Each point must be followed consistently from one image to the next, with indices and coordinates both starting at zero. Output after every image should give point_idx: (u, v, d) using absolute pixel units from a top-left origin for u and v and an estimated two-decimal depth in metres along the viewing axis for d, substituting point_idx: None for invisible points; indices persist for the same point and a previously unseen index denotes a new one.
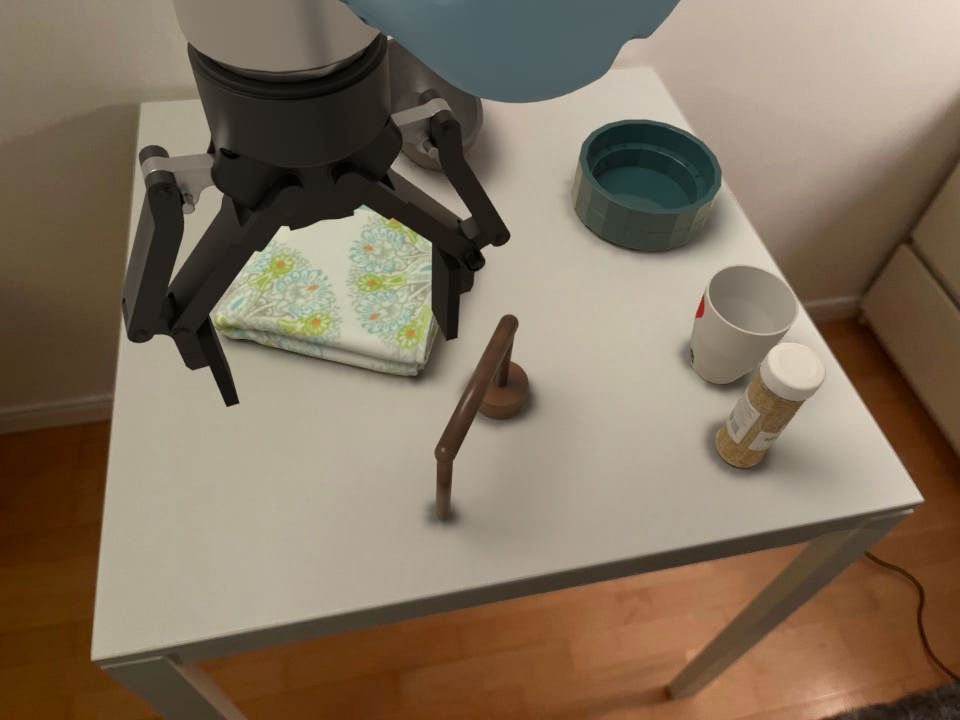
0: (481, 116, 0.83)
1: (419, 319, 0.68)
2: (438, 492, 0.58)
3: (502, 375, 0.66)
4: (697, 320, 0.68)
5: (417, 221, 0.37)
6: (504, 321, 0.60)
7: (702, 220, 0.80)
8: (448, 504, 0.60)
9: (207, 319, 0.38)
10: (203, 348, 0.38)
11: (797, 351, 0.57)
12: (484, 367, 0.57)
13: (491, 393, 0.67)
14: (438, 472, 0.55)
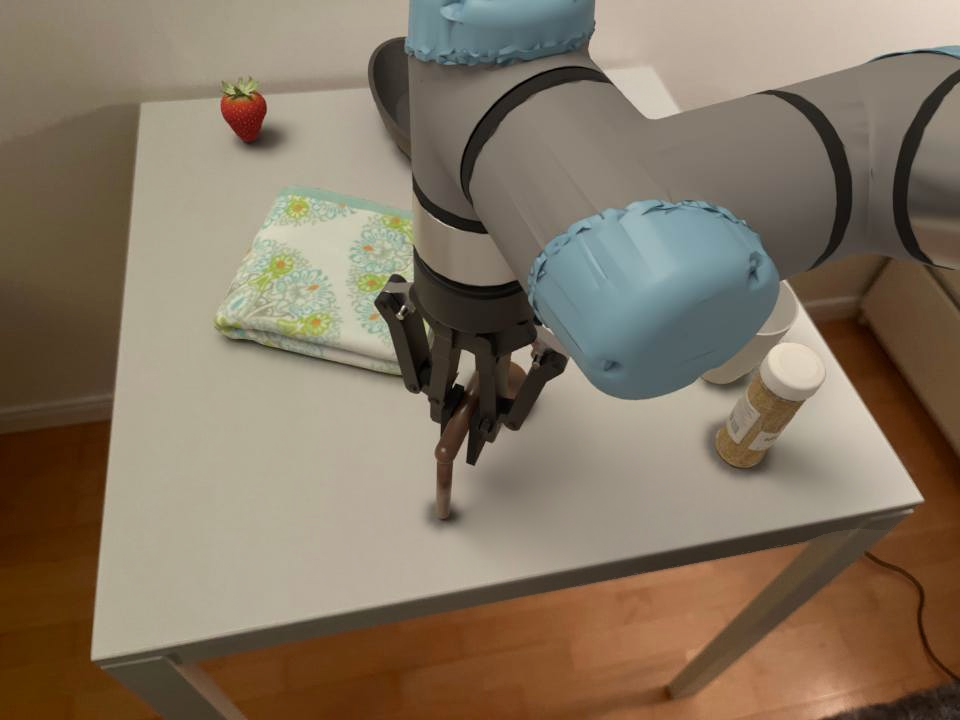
0: None
1: None
2: (438, 492, 0.58)
3: None
4: None
5: (486, 384, 0.49)
6: None
7: None
8: (448, 504, 0.60)
9: (455, 401, 0.55)
10: (441, 416, 0.55)
11: (797, 351, 0.57)
12: None
13: None
14: (438, 472, 0.55)
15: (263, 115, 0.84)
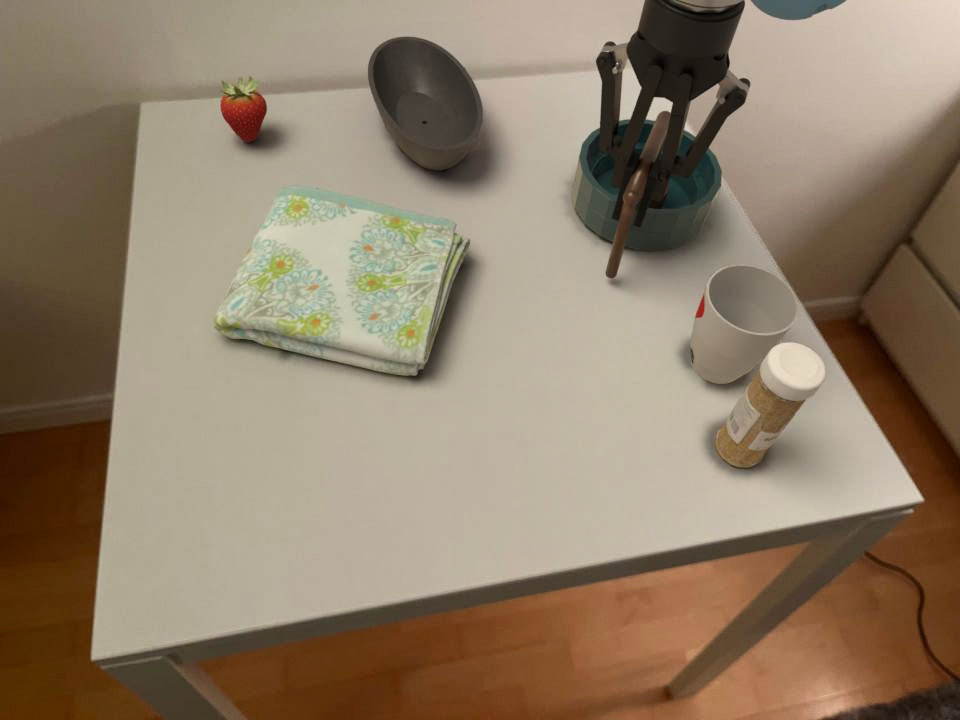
0: (481, 116, 0.83)
1: (419, 319, 0.68)
2: (616, 244, 0.73)
3: None
4: (697, 320, 0.68)
5: (673, 130, 0.65)
6: (662, 114, 0.75)
7: (702, 220, 0.80)
8: (620, 260, 0.75)
9: (635, 163, 0.70)
10: (624, 174, 0.70)
11: (797, 351, 0.57)
12: (653, 142, 0.72)
13: None
14: (622, 218, 0.70)
15: (263, 115, 0.84)
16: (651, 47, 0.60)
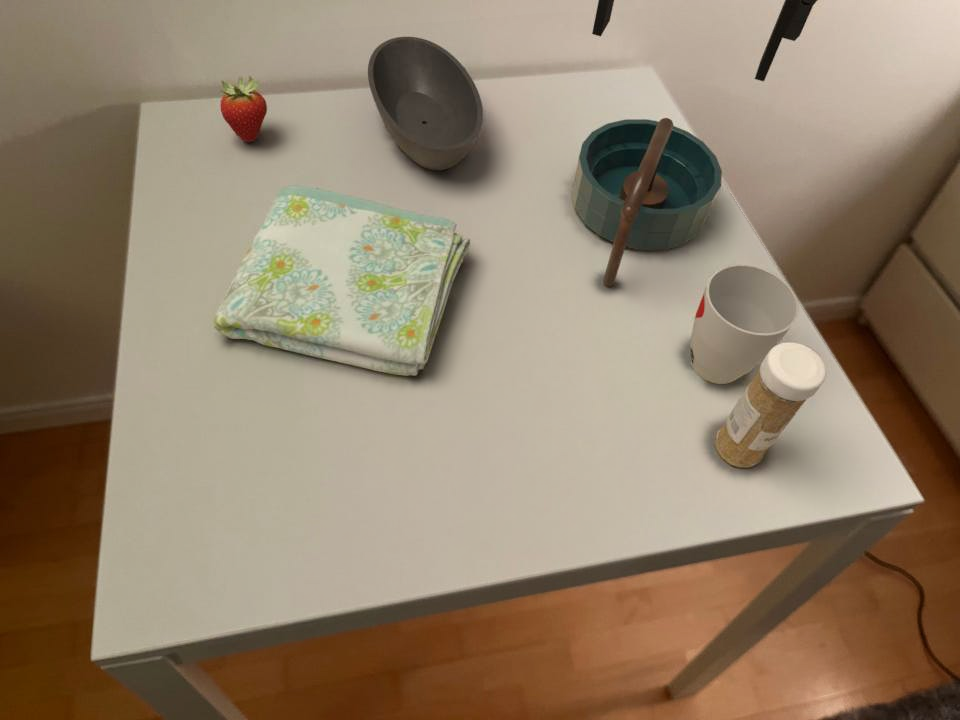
0: (481, 116, 0.83)
1: (419, 319, 0.68)
2: (613, 255, 0.74)
3: None
4: (697, 320, 0.68)
5: None
6: (663, 122, 0.75)
7: (702, 220, 0.80)
8: (617, 269, 0.76)
9: None
10: None
11: (797, 351, 0.57)
12: (652, 153, 0.72)
13: None
14: (620, 231, 0.71)
15: (263, 115, 0.84)
16: None
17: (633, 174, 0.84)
